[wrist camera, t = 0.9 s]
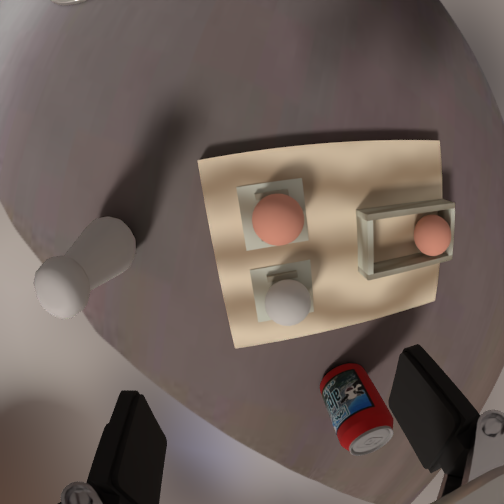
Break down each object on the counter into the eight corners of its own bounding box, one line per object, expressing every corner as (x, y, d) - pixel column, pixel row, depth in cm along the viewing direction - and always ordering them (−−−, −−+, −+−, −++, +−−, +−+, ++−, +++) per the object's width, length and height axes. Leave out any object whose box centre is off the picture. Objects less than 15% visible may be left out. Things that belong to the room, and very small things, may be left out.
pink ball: (406, 212, 28) (430, 222, 23) (435, 208, 28) (460, 217, 24) (405, 251, 29) (428, 265, 25) (434, 245, 29) (457, 257, 25)
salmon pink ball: (246, 194, 26) (250, 201, 22) (294, 187, 26) (307, 193, 22) (253, 241, 27) (258, 256, 23) (299, 233, 27) (312, 247, 23)
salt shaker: (120, 200, 26) (49, 234, 14) (153, 245, 28) (106, 309, 16) (82, 234, 27) (10, 283, 15) (114, 275, 29) (59, 345, 16)
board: (199, 160, 26) (194, 160, 22) (431, 140, 27) (453, 140, 23) (234, 340, 32) (236, 362, 29) (428, 295, 33) (445, 309, 29)
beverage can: (332, 355, 34) (366, 424, 23) (371, 362, 36) (409, 423, 24) (309, 391, 36) (332, 460, 25) (347, 396, 38) (376, 456, 26)
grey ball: (259, 276, 28) (264, 297, 24) (303, 268, 28) (315, 287, 24) (264, 314, 30) (270, 338, 26) (306, 306, 30) (317, 329, 26)
